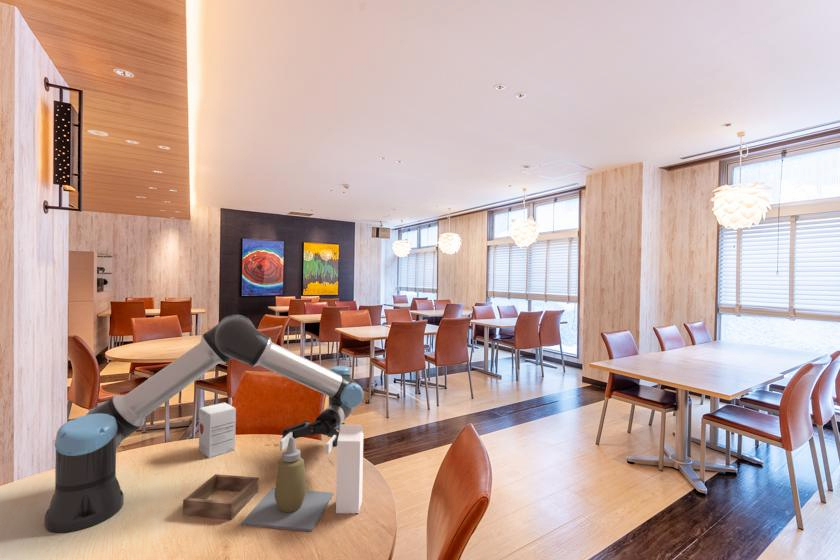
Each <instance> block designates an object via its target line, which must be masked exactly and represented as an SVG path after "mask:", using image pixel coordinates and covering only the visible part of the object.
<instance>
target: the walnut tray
mask: <svg viewBox="0 0 840 560" xmlns="http://www.w3.org/2000/svg"><path fill="white" fill-rule="evenodd" d="M216 491H221V492H222V491H223V492H234V493H237V494H235V496H234V497H233V498H232V499H231V500H230V501H228V500H215V499H208V498H209V497H210V496H212V495H213V494H214V493H215V492H216ZM258 493H259V477H254V476H243V475H229V474H219V473H217V474H216V473H215V474H214V475H213V476H211V477H210V478H209V479H208V480H207V481H205V482H204V483H203V484H201V485H200V486H199V487H197V488H196V489H195V490H194V491H192V492H191V493H190V494H189V495H187V496H186V497H185V498H184V499H183V500H182V517H183V516H184V517H196V518H204V519H216V520H225V521H227V520H228V521H232V520H233V519H234V518H235V517H236V515H238V514H239V513H240V511H242V509H244V508H245V507H246V506H247V504H248V503H249V502H250V501H251V500H252V499H253V498H254V497H255V496H256V495H257V494H258Z"/></svg>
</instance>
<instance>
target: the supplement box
mask: <svg viewBox="0 0 840 560" xmlns="http://www.w3.org/2000/svg"><path fill="white" fill-rule="evenodd" d="M198 412H199V414H198V415H199V417H198V419H199V420H198V421H199V422H198V423H199V424H198V425H199V426H198V430H199V431H198V452H200V453H202V454H203V455H205V457H207V458H209V459H212V458H214V457H218V456H220V454H221V455H224V454H226V453H229V452H233V451H235V450H236V424H237V423H236V421H237V417H236V414H237V413H236V412H237V408H236V407H234V406H232V405H231V404H229V403H227V402H225V401H224V402H221V403H216V404H212V405H208V406H202V407H199V411H198ZM217 455H218V456H217Z"/></svg>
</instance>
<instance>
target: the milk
mask: <svg viewBox="0 0 840 560" xmlns="http://www.w3.org/2000/svg"><path fill="white" fill-rule="evenodd" d="M338 432H339V436H338V440H337V446H336V450H337V451H336V494H335V495H336V496H335V502H336V503H335V514H350V513H351V514H355V513H360V511H359V510H361V507H360V506H362V503H363V477H364V476H363V473H364V471H363V470H364V468H363V467H364V432H363V425H362V424H345V425H344V424H341V425H340V431H338Z"/></svg>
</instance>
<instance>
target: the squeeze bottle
mask: <svg viewBox="0 0 840 560" xmlns="http://www.w3.org/2000/svg"><path fill="white" fill-rule="evenodd" d="M305 469H306V468H305V459H304V458H302V457H301V450H300V448H297V445H296V441H295V439H294V438H293V437H291V438H289V442H288V446H287V447H286V449H284V450H283V452H282V453H281V459H280V460H279V462H278V463H277V471H276V477H275V478H276V479H275V487H274V488H275V499H276V502H277V505H278V508H279V510H280V511H282V512H293V511H295V510H298V509H299V508H300V507H301V506H302V503H303V500H304V497H305V495H306V492H307V482H306V480H307V479H306V470H305Z"/></svg>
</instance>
